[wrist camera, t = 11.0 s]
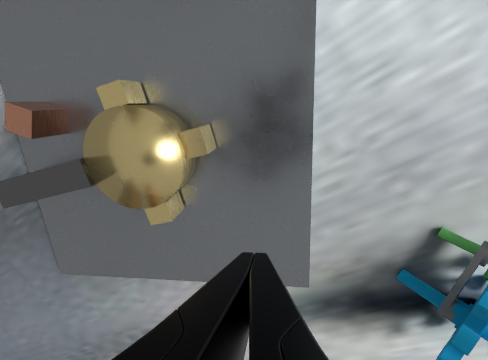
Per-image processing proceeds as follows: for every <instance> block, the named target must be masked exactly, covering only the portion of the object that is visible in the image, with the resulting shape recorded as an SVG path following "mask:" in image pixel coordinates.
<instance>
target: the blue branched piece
mask: <svg viewBox="0 0 488 360" xmlns="http://www.w3.org/2000/svg"><path fill="white" fill-rule="evenodd" d="M437 236H438V237H440V238H442V239H444V240H446V241H448V242H450V243H452V244H454V245H456V246H458V247H460V248H462V249H464V250H466V251H468V252H470V253H472V254H474V257H473V258H472V260H471V261H470V263H469V264H468V266H467V267H466V269H465V270H464V271H463V273H462V274H461V276H460V277H459V279H458V280H457V282H456V283H455V285H454V286H453V288H452V289H451V291H450V292H449V294H448V295H447V296H445V295H444V294H442V293H440V292H439V291H437V290H436V289H434V288H433V287H431V286H430V285H428V284H426V283H425V282H423V281H422V280H420V279H419V278H417V277H415V276H414V275H412V274H411V273H409V272H408V271H406V270H404V269H403V270H402V271H401V272H400V273H399V275H398V276H397V280H398V281H400V282H401V283H403V284H404V285H406V286H407V287H409V288H410V289H412V290H413V291H415V292H416V293H418V294H419V295H420V296H422V297H423V298H425V299H426V300H428V301H429V302H431V303H432V304H434V305H435V306H437V307H438V308H439V309H438V310H437V312H438V313H440V314H441V315H442V316H444V317H445V318H447V319H448V320H450V321H451V322H453V323H454V324H455V328H456V331H455V332H454V334H453V335H452V337H451V339H450V340H449V341H448V343H447V344H446V345H445V347H444V348H443V350H442V351H441V352H440V354H439V355H438V357H437V359H436V360H461V358H462V357H463V355H464V354H465V355H467V356H468V355H469V353H470V352H471V351H472V349H473V348H474V346H475V345H476V343H477V342H478V340H479V339H480V337H482V338H484V339H485V340H487V341H488V285H487V287H486V288H485V290H484V292H483V293H482V295H481V296H480V297H479V299H478V300H477V301H476V302H475V304H474V305H473V304H470V305H467V304H466V303H464V302H463V301H461V300H459V299H458V298H457V296H458V295H459V293H460V292H461V290H462V289H463V287H464V286H465V285H466V283H467V282H468V280H469V279H470V277H471V276H472V274H473V273H474V271H475V270H476V269H477V267H478V266H479V265H481V266H483V267H484V266H485V265H486V264H488V242H487V241H484V242H483V244H482V245H481V246H480V245H478V244H476V243H474V242H471V241H469V240H467V239H465V238H463V237H461V236H459V235H457V234H455V233H452V232H450V231H448V230H446V229H444V228H442V229H441V230H440V232H439V233H438V235H437ZM483 278H485V279H486V280H488V269H487V271H486V272H485V274H484V275H483Z"/></svg>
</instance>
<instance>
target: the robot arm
mask: <svg viewBox="0 0 488 360" xmlns="http://www.w3.org/2000/svg"><path fill="white" fill-rule="evenodd" d="M248 337H249V360H329V359H328V358H327V356H326V355H325V354H324V352H323V351H322V349H321V348H320V346H319V345H318V343H317V341H316V340H315V338H314V336H313V335H312V333H311V331H310V330H309V328H308V326H307V324H306V323H305V321H304V319H303V318H302V316H301V314H300V312H299V310H298V308H297V307H296V305H295V303H294V301H293V299H292V298H291V296H290V294H289V292H288V290H287V289H286V287H285V285H284V283H283V281H282V280H281V278H280V276H279V274H278V272H277V271H276V269H275V267H274V265H273V263H272V262H271V260H270V258H269V256H268V254H267V253H255V254H254V253H253V252H242V253H241V254H240V255H238V256H237V257H236V258H235V259H234V260H233V261H231V262H230V263H229V264H228V265H227V266H226V267H225V268H223V269H222V270H221V271H220V272H219V273H218V274H217V275H215V276H214V277H213V278H212V279H211V280H210V281H208V282H207V283H206V284H205V285H204V286H203V287H202V288H200V289H199V290H198V291H197V292H196V293H195V294H193V295H192V296H191V297H190V298H189V299H188V300H187V301H185V302H184V303H183V304H182V305H181V306H180V307H178V310H175V311H174V312H173V313H171V314H170V315H169V316H168V317H167V318H166V319H164V320H163V321H162V322H161V323H160V324H158V325H157V326H156V327H155V328H153V329H152V330H151V331H150V332H148V333H147V334H146V335H144V336H143V337H142V338H140V339H139V340H138V341H136V342H135V343H134V344H132V345H131V346H130V347H128V348H127V349H126V350H124V351H123V352H121V353H120V354H119V355H117V356H116V357H114V358H113V359H112V360H244V356H245V351H246V346H247V342H248Z"/></svg>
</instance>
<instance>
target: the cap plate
mask: <svg viewBox="0 0 488 360" xmlns="http://www.w3.org/2000/svg"><path fill="white" fill-rule="evenodd" d="M315 27H316V0H0V81H1V84H2V87H3V90H4V94H5V97H6V100H7V102H5V130H6V131H9V132H12V133H15V134H17V135H18V138H19V142H20V145H21V148H22V151H23V154H24V158H25V161H26V164H27V167H28V170H29V173H31V172H34V171H38V170H41V169H45V168H48V167H52V166H56V165H59V164H63V163H66V162H70V161H73V160H77V159H80V158H84V155H83V142H84V137H85V133H86V131H87V128H88V126H89V125H90V123H91V121H92V120H93V119H94V118H95V117H96V116H97V115H98V114H99V113H101V112H103V111H104V107H103V105H102V102H101V100H100V97H99V95H98V92H97V90H96V88H97V87H99V86H102V85H105V84H108V83H111V82H114V81H117V80H127V81H135V82H140V84H141V87H142V90H143V92H144V95H145V98H146V101H147V103H146V104H143V105H156V106H160V107H163V108H166V109H168V110H170V111H171V112H173V113H174V114H176V115H177V116H178V117H179V118H181V119H182V121H183V122H184V123H185V124H186V125H187V127H188V128H189V129H192V128H196V127H200V126H203V125H207V124H210V127H211V130H212V133H213V137H214V140H215V143H216V147H217V148H216V149H214V150H213V151H211V152H210V153H209V154H206V155H202V156H198V157H197V162H196V167H195V170H194V173H193V175H192V176H191V178H190V180H189V181H188V182H187V183H186V184H185V185H184V186H183V187H182V188H181V189H179V190H178V191H179V193H180V196H181V199H182V202H183V205H184V207H185V208H184V209H183V210H182V211H181V212H180V214H179V215H178V216H177V217H176V218H175V219H174V220H173V221H171V222H166V223H161V224H156V225H151V224H150V222H149V219H148V217H147V214H146V212H145V209H134V208H129V207H126V206H123V205H120V204H118V203H116V202H114V201H113V200H111V199H110V198H109V197H107V196H106V195H105V194H104V193H103V192H102V191H101V190H100V189H99V188H98V187H97V186H96V185H94V186H92V187H88V188H84V189H80V190H76V191H72V192H68V193H64V194H60V195H56V196H52V197H48V198H44V199H40V200H38V202H39V206H40V209H41V212H42V215H43V218H44V222H45V225H46V228H47V231H48V234H49V238H50V241H51V244H52V247H53V250H54V254H55V257H56V260H57V263H58V266H59V270H60V273H61V274H75V275H93V276H111V277H129V278H147V279H165V280H184V281H202V282H208V281H210V280H211V279H212V278H213V277H214V276H215V275H217V274H218V273H219V272H220V271H221V270H222V269H223V268H225V267H226V266H227V265H228V264H229V263H230V262H231V261H233V260H234V259H235V258H236V257H237V256H238V255H240V254H241V253H242V252H253V253H254V254H255V253H267V254H268V256H269V258H270V260H271V262H272V263H273V265H274V267H275V269H276V271H277V272H278V274H279V276H280V278H281V280H282V281H283V283H284V285H285V286H292V287H309V264H310V224H311V185H312V146H313V106H314V67H315Z"/></svg>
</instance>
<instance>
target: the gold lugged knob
mask: <svg viewBox="0 0 488 360" xmlns="http://www.w3.org/2000/svg"><path fill="white" fill-rule="evenodd" d="M96 90H97V92H98V95H99V97H100V100H101V102H102V105H103V107H104V111H103V112H101V113H99V114H98V115H97V116H96V117H95V118H94V119H93V120H92V121H91V123H90V125H89V126H88V128H87V131H86V133H85V137H84V142H83V155H84V158H80V159H77V160H73V161H70V162H66V163H63V164H59V165H56V166H52V167H48V168H45V169H41V170H38V171H34V172H31V173H27V174H24V175H20V176H17V177H13V178H10V179H6V180H3V181H0V202H1V204H2V206H3V207H4V208H8V207H12V206H16V205H20V204H24V203H28V202H32V201H36V200H40V199H44V198H48V197H52V196H56V195H60V194H64V193H68V192H72V191H76V190H80V189H84V188H88V187H92V186H94V185H96V186H97V187H98V188H99V189H100V190H101V191H102V192H103V193H104V194H105V195H106V196H107V197H109V198H110V199H111V200H113V201H114V202H116V203H118V204H120V205H123V206H126V207H129V208H134V209H145V212H146V214H147V217H148V219H149V222H150V224H151V225H156V224H161V223H166V222H171V221H173V220H174V219H175V218H176V217H177V216H178V215H179V214H180V212H181V211H182V210H183V209H184V208H185V207H184V205H183V202H182V199H181V196H180V193H179V191H178V190H179V189H181V188H182V187H183V186H184V185H185V184H186V183H187V182H188V181H189V180H190V178H191V176H192V175H193V173H194V170H195V167H196V162H197V157H198V156H202V155H206V154H209V153H210V152H211V151H213V150H214V149H216V148H217V147H216V143H215V140H214V137H213V133H212V130H211V127H210V124H207V125H203V126H200V127H196V128H192V129H189V128H188V127H187V125H186V124H185V123H184V122H183V121H182V119H181V118H179V117H178V116H177V115H176V114H174V113H173V112H171V111H170V110H168V109H166V108H163V107H160V106H156V105H143V104H146V103H147V101H146V98H145V95H144V92H143V90H142V87H141V84H140V82H135V81H127V80H117V81H114V82H111V83H108V84H105V85H102V86H99V87H97V88H96Z"/></svg>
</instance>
